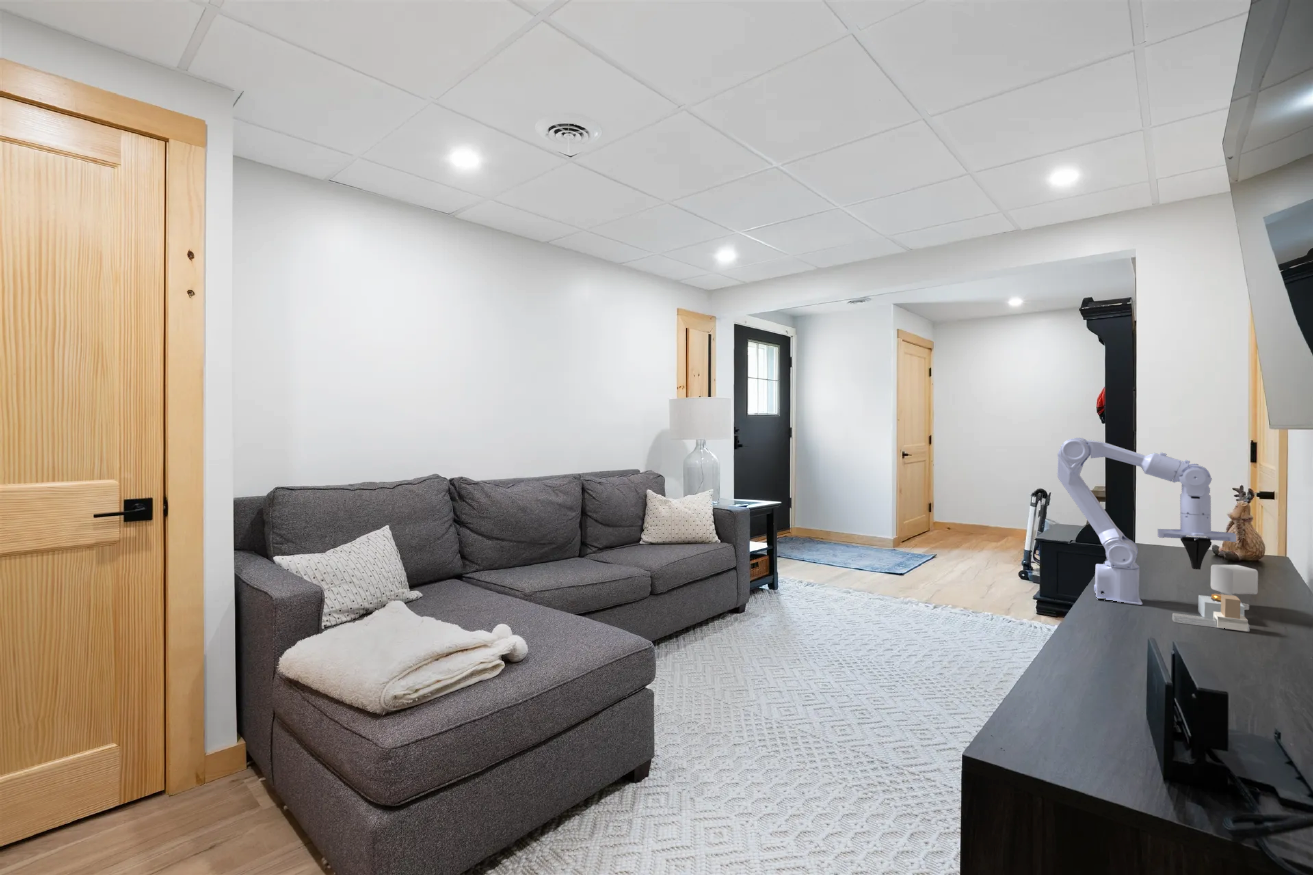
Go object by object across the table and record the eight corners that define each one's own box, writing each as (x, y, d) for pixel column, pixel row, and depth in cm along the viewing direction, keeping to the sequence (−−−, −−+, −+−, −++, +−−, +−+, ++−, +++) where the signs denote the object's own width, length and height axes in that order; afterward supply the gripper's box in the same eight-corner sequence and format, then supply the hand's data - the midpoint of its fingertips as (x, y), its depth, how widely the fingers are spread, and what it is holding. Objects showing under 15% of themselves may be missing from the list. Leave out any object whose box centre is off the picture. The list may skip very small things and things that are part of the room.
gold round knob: (1212, 614, 148) (1213, 596, 148) (1209, 611, 151) (1209, 592, 151) (1231, 617, 146) (1232, 598, 146) (1228, 613, 149) (1228, 594, 149)
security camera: (1257, 610, 154) (1258, 570, 154) (1228, 610, 154) (1229, 570, 154) (1234, 602, 160) (1235, 564, 160) (1206, 602, 161) (1207, 564, 160)
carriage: (1217, 627, 140) (1218, 597, 140) (1213, 622, 144) (1213, 593, 144) (1247, 631, 138) (1248, 601, 138) (1242, 625, 142) (1242, 596, 141)
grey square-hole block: (1204, 618, 148) (1204, 602, 147) (1198, 611, 153) (1198, 594, 153) (1244, 623, 144) (1244, 606, 144) (1236, 615, 150) (1236, 599, 150)
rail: (1174, 622, 145) (1174, 615, 145) (1172, 619, 147) (1172, 612, 147) (1249, 631, 138) (1249, 625, 138) (1246, 628, 140) (1246, 622, 140)
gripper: (1160, 514, 154) (1161, 568, 154) (1239, 517, 146) (1239, 574, 147) (1156, 510, 160) (1156, 563, 160) (1231, 513, 152) (1232, 568, 153)
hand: (1196, 568), depth 154 cm, fingers closed
